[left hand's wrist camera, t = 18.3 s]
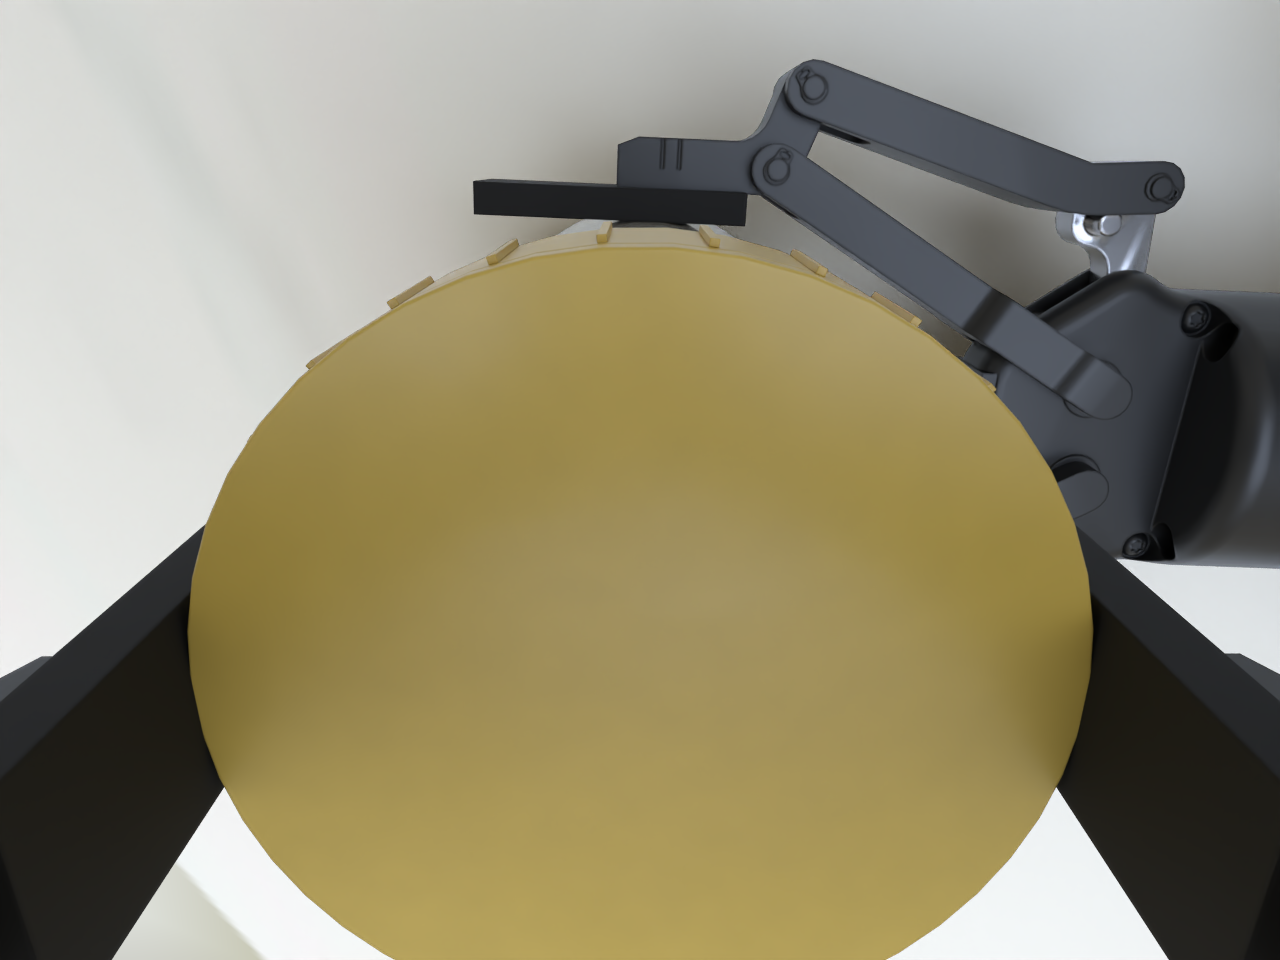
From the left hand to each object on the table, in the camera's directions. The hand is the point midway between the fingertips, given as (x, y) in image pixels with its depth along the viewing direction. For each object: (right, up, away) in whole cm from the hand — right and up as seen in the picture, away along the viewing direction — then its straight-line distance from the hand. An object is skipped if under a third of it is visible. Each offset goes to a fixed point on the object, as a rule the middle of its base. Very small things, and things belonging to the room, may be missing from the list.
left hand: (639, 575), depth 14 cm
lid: (0, -1, -3) cm, 3 cm away
